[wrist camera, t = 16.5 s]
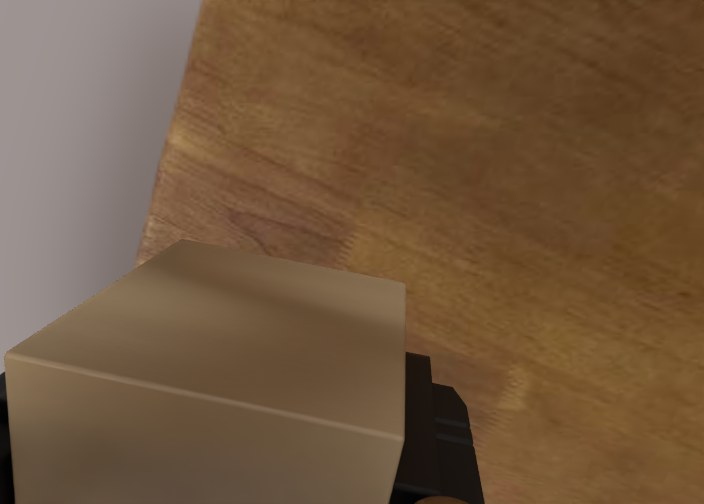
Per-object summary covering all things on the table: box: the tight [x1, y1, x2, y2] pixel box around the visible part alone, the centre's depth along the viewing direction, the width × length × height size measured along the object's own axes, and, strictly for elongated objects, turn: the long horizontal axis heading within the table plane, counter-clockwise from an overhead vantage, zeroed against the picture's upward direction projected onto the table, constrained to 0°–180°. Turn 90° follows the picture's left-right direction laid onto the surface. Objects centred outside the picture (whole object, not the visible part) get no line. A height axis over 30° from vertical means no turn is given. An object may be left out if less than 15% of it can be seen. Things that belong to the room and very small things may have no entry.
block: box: [4, 239, 406, 504], centre depth 8 cm, size 4×4×4 cm
